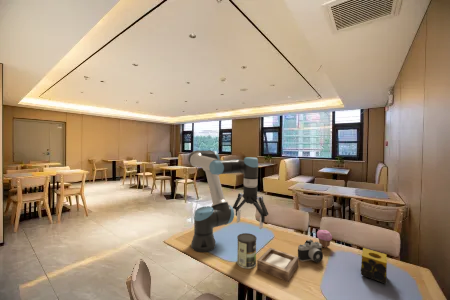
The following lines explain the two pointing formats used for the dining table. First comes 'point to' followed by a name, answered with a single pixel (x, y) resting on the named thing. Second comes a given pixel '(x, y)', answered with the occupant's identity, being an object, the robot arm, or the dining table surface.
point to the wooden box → (278, 264)
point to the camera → (310, 251)
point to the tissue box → (374, 265)
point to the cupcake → (324, 237)
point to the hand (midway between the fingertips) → (249, 225)
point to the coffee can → (246, 250)
